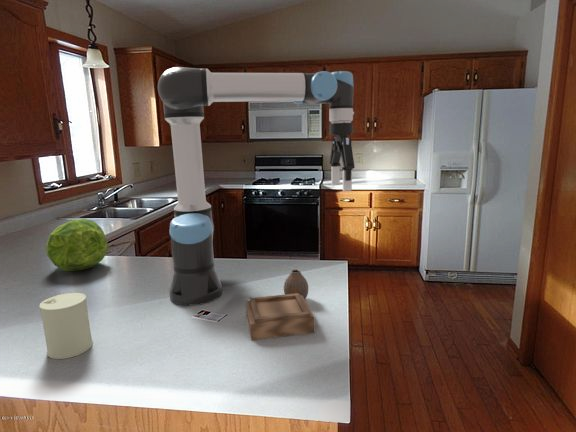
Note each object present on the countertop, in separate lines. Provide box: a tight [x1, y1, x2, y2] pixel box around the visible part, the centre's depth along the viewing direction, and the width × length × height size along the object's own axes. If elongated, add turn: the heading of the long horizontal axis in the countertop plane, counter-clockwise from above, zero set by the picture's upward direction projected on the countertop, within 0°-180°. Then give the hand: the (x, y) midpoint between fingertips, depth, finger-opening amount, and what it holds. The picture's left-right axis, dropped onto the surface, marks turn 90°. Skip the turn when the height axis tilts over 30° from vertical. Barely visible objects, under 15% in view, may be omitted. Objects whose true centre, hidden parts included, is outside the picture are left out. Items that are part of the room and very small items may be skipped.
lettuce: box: [45, 218, 109, 272], centre depth 144 cm, size 19×23×18 cm
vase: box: [283, 269, 309, 300], centre depth 112 cm, size 7×7×9 cm
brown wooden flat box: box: [245, 293, 315, 341], centre depth 99 cm, size 15×13×5 cm
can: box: [38, 292, 94, 360], centre depth 90 cm, size 9×9×12 cm
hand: (341, 187), depth 134 cm, fingers open, 13 cm apart
